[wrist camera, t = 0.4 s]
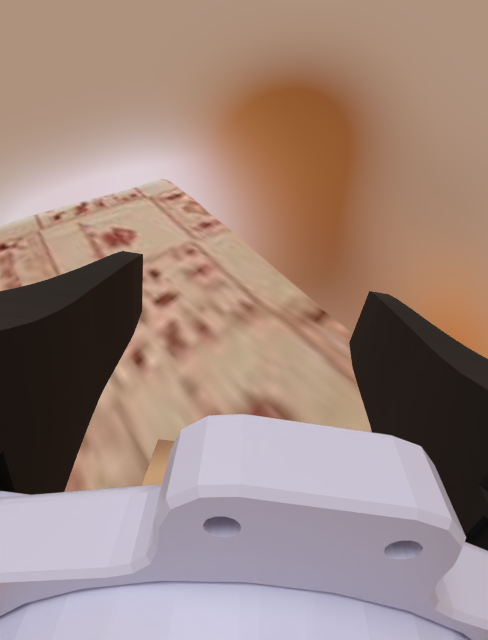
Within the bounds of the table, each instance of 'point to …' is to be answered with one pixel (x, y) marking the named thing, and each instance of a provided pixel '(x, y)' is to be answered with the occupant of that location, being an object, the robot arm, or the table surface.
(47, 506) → the robot arm
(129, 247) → the table surface
